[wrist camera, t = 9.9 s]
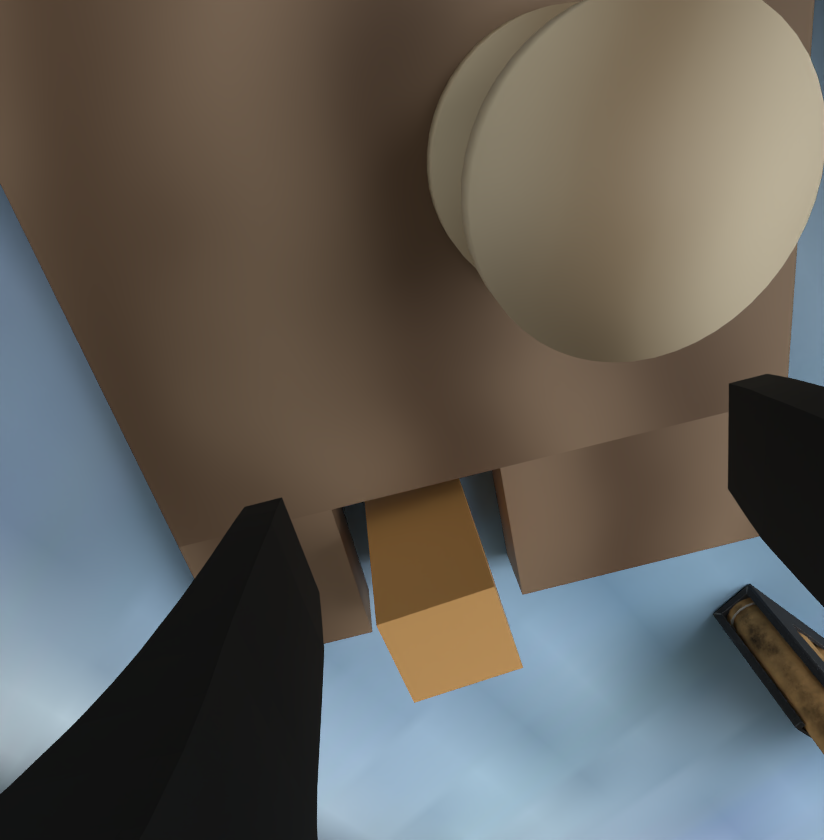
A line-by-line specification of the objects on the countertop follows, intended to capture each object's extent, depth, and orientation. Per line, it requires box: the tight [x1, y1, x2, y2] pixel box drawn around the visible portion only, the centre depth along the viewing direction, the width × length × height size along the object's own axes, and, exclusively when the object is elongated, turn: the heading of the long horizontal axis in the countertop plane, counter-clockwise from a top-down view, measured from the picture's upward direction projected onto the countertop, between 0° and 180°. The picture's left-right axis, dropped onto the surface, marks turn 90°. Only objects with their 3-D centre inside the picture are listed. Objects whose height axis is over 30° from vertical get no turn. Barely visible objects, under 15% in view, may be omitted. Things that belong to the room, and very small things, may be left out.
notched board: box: [0, 0, 815, 644], centre depth 18 cm, size 18×20×2 cm
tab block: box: [365, 478, 523, 703], centre depth 19 cm, size 3×3×6 cm
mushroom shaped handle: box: [427, 0, 824, 363], centre depth 13 cm, size 6×6×5 cm
